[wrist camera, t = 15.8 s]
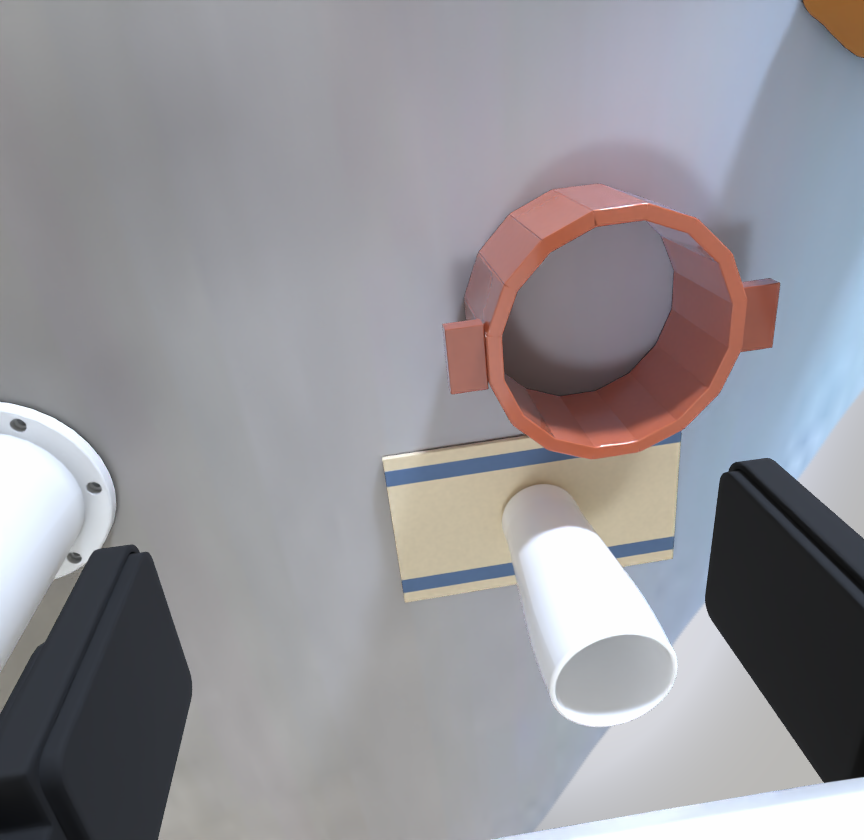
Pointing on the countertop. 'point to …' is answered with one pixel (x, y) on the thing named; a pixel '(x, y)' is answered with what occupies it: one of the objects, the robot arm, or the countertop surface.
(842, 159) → the countertop surface
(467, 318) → the cooking pot
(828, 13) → the coffee package
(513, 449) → the tea towel
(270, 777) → the countertop surface
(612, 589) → the drinking glass
